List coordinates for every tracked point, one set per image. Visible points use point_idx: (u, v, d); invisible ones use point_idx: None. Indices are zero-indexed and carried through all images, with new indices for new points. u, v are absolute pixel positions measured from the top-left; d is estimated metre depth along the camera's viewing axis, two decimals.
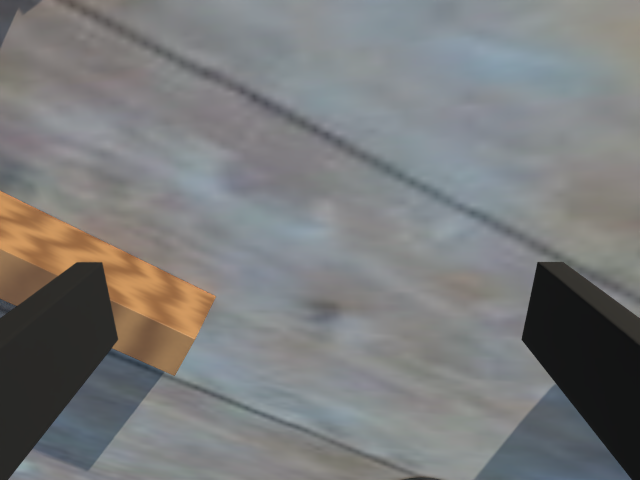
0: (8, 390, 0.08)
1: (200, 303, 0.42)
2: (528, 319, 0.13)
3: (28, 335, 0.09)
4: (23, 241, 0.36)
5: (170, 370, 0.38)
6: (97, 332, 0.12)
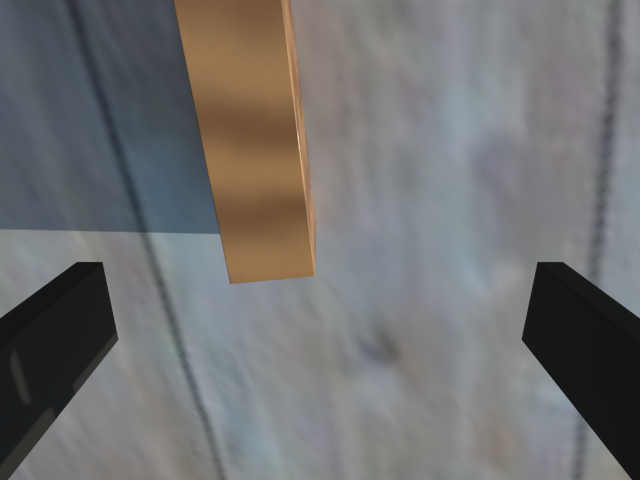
0: (8, 390, 0.08)
1: None
2: (528, 318, 0.13)
3: (28, 335, 0.09)
4: None
5: (235, 274, 0.22)
6: (97, 332, 0.12)
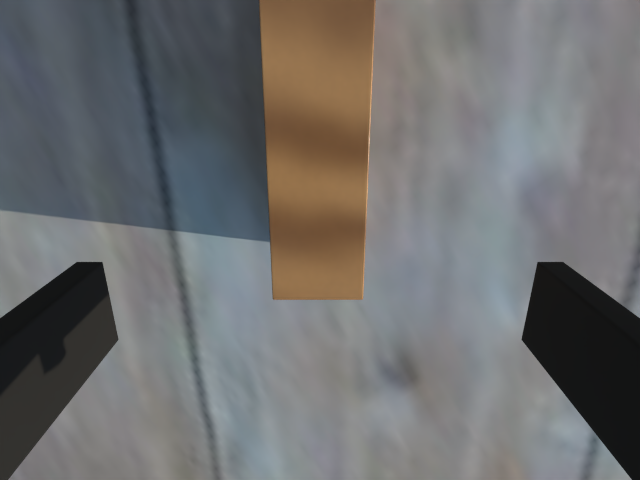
0: (8, 390, 0.08)
1: None
2: (528, 319, 0.13)
3: (28, 335, 0.09)
4: None
5: (279, 290, 0.21)
6: (97, 332, 0.12)
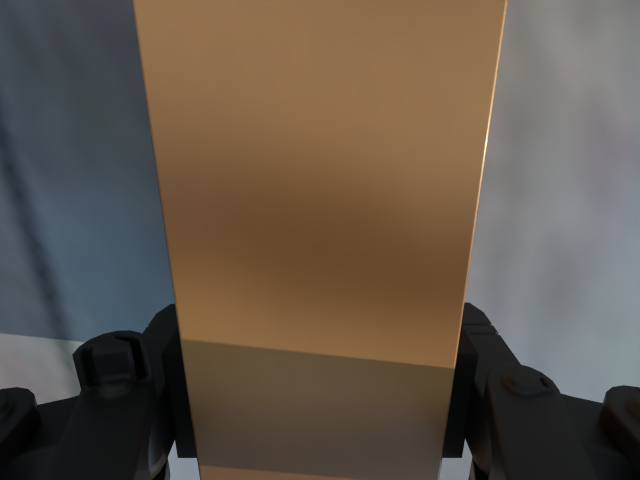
0: None
1: None
2: None
3: None
4: None
5: None
6: None
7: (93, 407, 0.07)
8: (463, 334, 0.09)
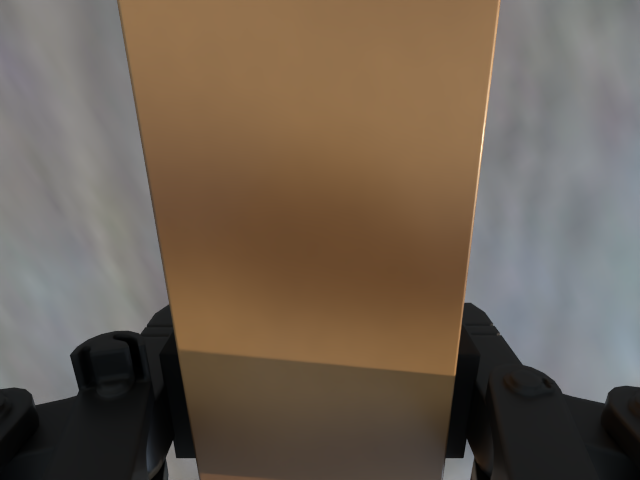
0: None
1: None
2: None
3: None
4: None
5: None
6: None
7: (91, 407, 0.07)
8: (466, 335, 0.09)
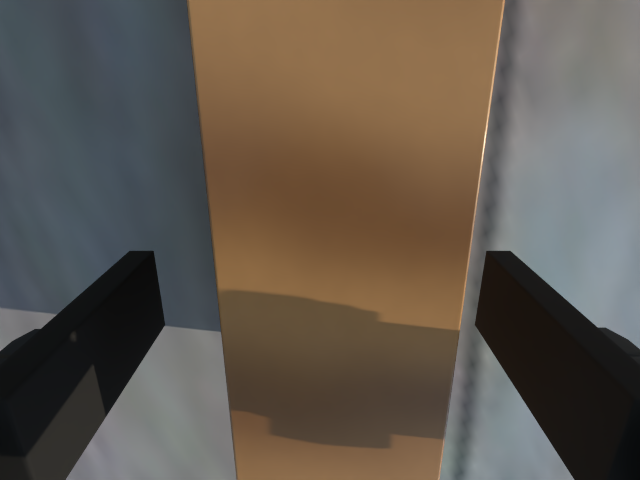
0: (87, 363, 0.09)
1: None
2: (479, 305, 0.13)
3: (101, 314, 0.10)
4: None
5: None
6: (150, 316, 0.13)
7: None
8: None
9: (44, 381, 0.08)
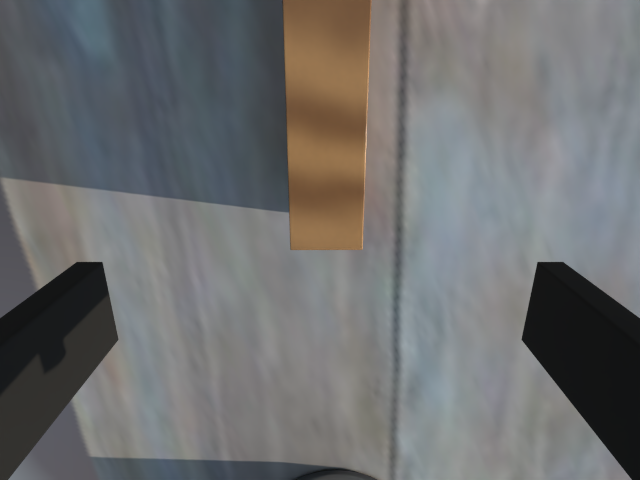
0: (8, 390, 0.08)
1: None
2: (528, 318, 0.13)
3: (28, 335, 0.09)
4: None
5: (296, 242, 0.27)
6: (97, 332, 0.12)
7: None
8: None
9: None
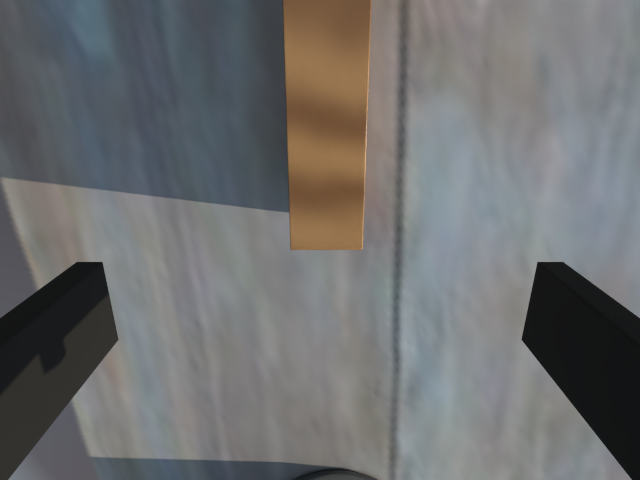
0: (8, 390, 0.08)
1: None
2: (528, 319, 0.13)
3: (28, 335, 0.09)
4: None
5: (296, 242, 0.27)
6: (97, 332, 0.12)
7: None
8: None
9: None
